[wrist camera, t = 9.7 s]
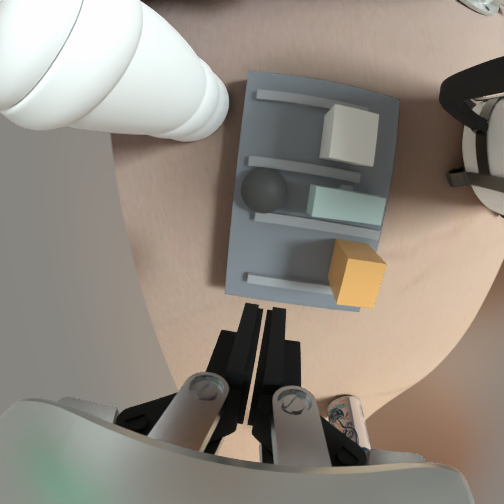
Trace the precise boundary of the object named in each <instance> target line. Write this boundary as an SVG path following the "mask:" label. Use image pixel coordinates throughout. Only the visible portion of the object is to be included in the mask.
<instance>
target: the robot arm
mask: <svg viewBox="0 0 504 504" xmlns="http://www.w3.org/2000/svg"><path fill="white" fill-rule="evenodd" d="M460 1H461V2H462V3H464V4H465V5H467V6H468V7H470V8H471V9H473V10H475V11H477V12H479V13H482V14H485V15H493V14H495V13H497V12H498V10H499V5H500V4H501V5H502V6H504V0H460ZM258 307H259V305H257V304H250V303H245V307H244V310H243V314H242V317H241V321H240V324H239V327H238V331H237V332H232V331H227V330H221V332H220V335H219V338H218V340H217V343H216V346H215V348H214V351H213V354H212V356H211V359H210V362H209V364H208V367H207V370H206V372H200V373H196V374H194V375H192V376H190V377H189V378H188V379H187V380H186V381H185V383H184V384H183V386H182V387H181V389H180V390H179V392H177V393H174V394H171V395H168V396H166V397H162V398H159V399H156V400H153V401H150V402H147V403H143V404H140V405H137V406H133V407H130V408H127V409H125V410H123V411H121V410H118V409H117V407H114V406H108V405H103V404H98V403H94V402H90V401H85V400H81V399H77V398H73V397H66V398H62V399H60V400H59V401H58V402H57V401H53V400H48V399H42V398H25V399H22V400H19V401H17V402H16V403H14V404H13V405H12V406H10V407H9V408H8V409H7V410H6V411H5V412H4V413H3V414H2V415H1V416H0V504H475V503H474V500H473V496H472V493H471V490H470V488H469V486H468V483H467V481H466V479H465V478H464V476H463V475H462V474H461V473H460V471H458V470H456V469H455V468H453V467H450V466H447V465H443V464H437V463H430V462H427V461H426V460H425V459H424V457H422V456H421V455H419V454H416V453H406V452H395V451H385V450H377V449H370V450H369V451H367V450H363V448H361V447H360V446H359V445H358V444H357V443H355V442H354V441H353V440H351V439H350V438H349V437H347V436H346V435H345V434H343V433H342V432H341V431H339V430H338V429H337V428H336V427H334V426H333V425H332V424H330V423H329V422H328V421H327V420H325V419H324V418H323V417H322V416H320V414H319V410H318V406H317V402H316V399H315V397H314V396H313V394H312V393H311V392H310V391H308V390H306V389H305V388H302V387H301V352H300V342H298V341H290V340H285V322H286V309H283V308H276V307H273V309H272V310H267V315H266V321H265V327H264V333H263V338H262V344H261V350H260V355H259V361H258V367H257V373H256V379H255V385H254V391H253V396H252V402H251V408H250V413H249V419H248V424H247V425H252V426H253V428H252V435H253V436H254V437H255V438H256V439H257V440H258V441H259V442H260V444H259V456H260V463H259V462H251V461H245V460H238V459H233V458H227V457H222V456H217V454H218V452H219V450H220V448H221V446H222V443H223V441H224V438H225V436H227V435H229V434H231V433H233V432H235V430H236V427H237V423H239V424H243V421H244V416H245V410H246V405H247V400H248V395H249V390H250V384H251V379H252V373H253V368H254V363H255V357H256V351H257V345H258V339H259V332H260V326H261V320H262V314H263V309H260V308H258Z"/></svg>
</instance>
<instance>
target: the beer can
mask: <svg viewBox="0 0 504 504" xmlns="http://www.w3.org/2000/svg"><path fill="white" fill-rule="evenodd" d="M327 412H328V418H329V423H330V424H332V425H333V426H334V427H336V428H337V429H338V430H339V431H341V432H342V433H343V434H345V435H346V436H347V437H349V438H350V439H351V440H353V441H354V442H355V443H357V444H358V445H359V446H360V447H361V448H363V450H367V451H369V450H370V444H369V439H368V434H367V429H366V424H365V420H364V415H363V411H362V406H361V402H360V400H359V399H358V398H357V397H354V396H343V397H340V398H337V399H335V400H333V401H332V402H331V403H330V404H329V405H328V407H327Z"/></svg>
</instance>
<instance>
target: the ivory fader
mask: <svg viewBox="0 0 504 504" xmlns="http://www.w3.org/2000/svg"><path fill="white" fill-rule="evenodd" d="M378 122H379V114H376V113H372V112H368V111H364V110H360V109H356V108H351V107H347V106H342V105H338V104H335V105H334V106H333V107H332V108H331V109H330V110H329V111H328V112H327V113H326V114H325V116H324V123H323V132H322V140H321V148H320V156H319V158H321V159H327V160H332V161H338V162H343V163H348V164H352V165H361V166H372V167H373V164H374V157H375V149H376V141H377V132H378Z"/></svg>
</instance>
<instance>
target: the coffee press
mask: <svg viewBox="0 0 504 504" xmlns="http://www.w3.org/2000/svg"><path fill="white" fill-rule="evenodd" d="M503 92H504V56H502V57H499V58H496V59H493V60H490V61H487V62H484V63H481V64H479V65H476V66H473V67H471V68H468V69H466V70H463V71H461V72H459V73H456V74H454V75H452V76H450V77H448V78H447V79H445V80H444V81H443V83H442V84H441V87H440V95H439V101H440V104H441V105H442V107H443V108H444V109H445V110H446V111H447V112H448V113H449V114H450V115H452V116H453V117H454V118H456V119H457V120H458V121H460V122H461V123H463V124H464V125H465V126H464V131H463V140H462V152H463V160H464V166H463V167H460V168H457V169H453V170H450V171H448V172H447V173H446V175H447V178H448V181H449V184H450V186H451V187H457V186H463V185H471V187H472V189H473V190H474V192H475V194H476V195H477V197H478V198H479V199H480V201H481V202H482V203H483V204H484V205H485V206H486V207H488V208H489V209H491V210H493V211H495V212H497V213H499V214H500V216H501V217H502V218H504V94H502V95H496V96H491V97H483V96H487V95H492V94H497V93H503ZM470 99H473V100H475V101H483V102H480V103H479V104H477V105H476V104H475V103H474V102H472V101H471V100H470ZM485 100H486V101H485Z"/></svg>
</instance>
